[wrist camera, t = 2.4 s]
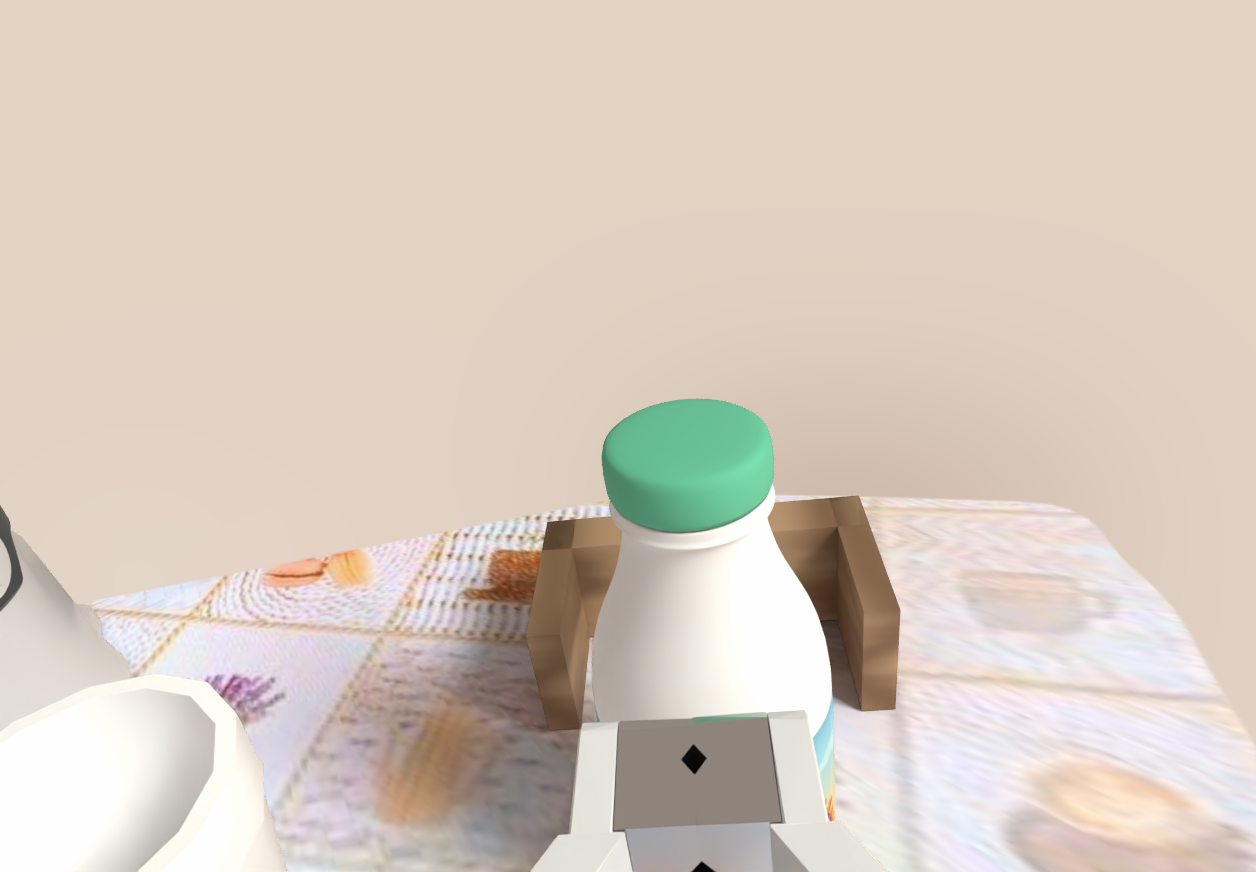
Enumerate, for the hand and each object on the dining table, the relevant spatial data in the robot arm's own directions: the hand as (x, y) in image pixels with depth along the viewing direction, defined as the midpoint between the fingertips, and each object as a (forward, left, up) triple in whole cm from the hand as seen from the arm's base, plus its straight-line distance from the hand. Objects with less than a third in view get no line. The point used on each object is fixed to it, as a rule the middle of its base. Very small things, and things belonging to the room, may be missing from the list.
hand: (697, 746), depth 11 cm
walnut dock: (0, +24, -22) cm, 32 cm away
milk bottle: (0, +12, -22) cm, 25 cm away
